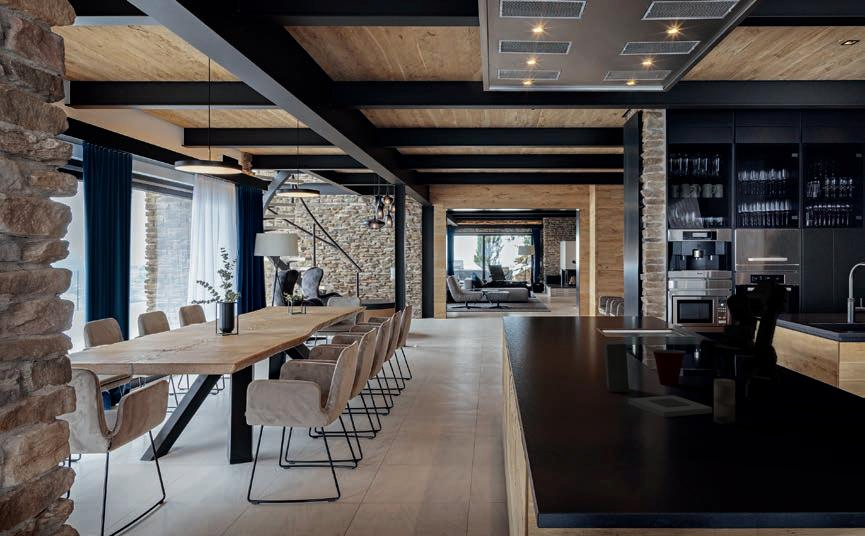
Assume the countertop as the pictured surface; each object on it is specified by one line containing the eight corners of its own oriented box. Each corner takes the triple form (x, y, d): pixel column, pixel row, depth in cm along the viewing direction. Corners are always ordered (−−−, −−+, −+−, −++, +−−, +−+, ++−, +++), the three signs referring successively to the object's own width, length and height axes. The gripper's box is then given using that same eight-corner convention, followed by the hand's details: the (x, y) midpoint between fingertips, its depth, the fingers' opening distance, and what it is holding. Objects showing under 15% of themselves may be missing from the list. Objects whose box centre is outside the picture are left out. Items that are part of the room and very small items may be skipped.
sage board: (673, 400, 180) (673, 394, 179) (712, 413, 164) (712, 406, 164) (628, 403, 175) (628, 398, 175) (663, 417, 160) (663, 411, 160)
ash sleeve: (733, 420, 157) (733, 379, 156) (736, 425, 152) (736, 383, 152) (712, 418, 158) (712, 378, 158) (715, 423, 153) (715, 381, 153)
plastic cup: (685, 382, 206) (685, 348, 206) (686, 388, 196) (686, 352, 196) (652, 380, 210) (652, 346, 210) (651, 386, 200) (651, 351, 200)
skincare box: (629, 393, 189) (629, 344, 189) (606, 392, 191) (606, 343, 191) (626, 387, 198) (626, 340, 198) (604, 386, 199) (604, 340, 199)
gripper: (701, 311, 169) (687, 354, 161) (774, 315, 156) (762, 362, 148) (711, 336, 174) (697, 378, 166) (782, 342, 161) (771, 388, 154)
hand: (730, 376), depth 158 cm, fingers open, 9 cm apart
